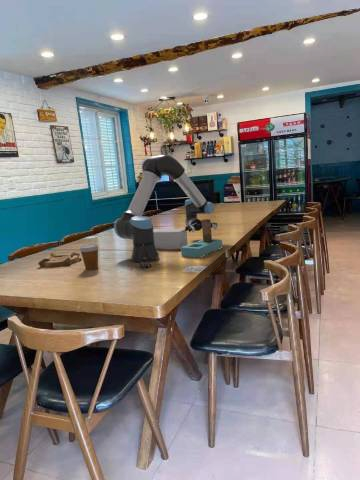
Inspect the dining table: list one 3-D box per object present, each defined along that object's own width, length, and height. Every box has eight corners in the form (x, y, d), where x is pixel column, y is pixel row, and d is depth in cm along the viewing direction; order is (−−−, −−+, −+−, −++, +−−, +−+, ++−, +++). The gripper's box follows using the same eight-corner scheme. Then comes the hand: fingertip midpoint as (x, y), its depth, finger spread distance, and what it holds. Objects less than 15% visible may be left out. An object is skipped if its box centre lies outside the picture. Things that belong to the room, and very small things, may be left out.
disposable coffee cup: (82, 267, 184) (79, 245, 182) (100, 265, 187) (97, 243, 185) (82, 272, 175) (79, 248, 173) (101, 269, 178) (98, 246, 176)
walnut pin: (209, 248, 198) (207, 220, 195) (202, 247, 201) (199, 220, 198) (214, 246, 202) (212, 219, 199) (206, 246, 205) (204, 219, 202)
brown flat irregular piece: (29, 267, 197) (27, 259, 196) (61, 257, 217) (59, 249, 217) (59, 269, 186) (58, 260, 185) (90, 258, 206) (88, 250, 205)
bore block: (199, 257, 184) (198, 248, 183) (181, 256, 191) (180, 247, 190) (222, 248, 203) (221, 239, 202) (205, 246, 210) (204, 238, 209)
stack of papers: (187, 245, 220) (186, 228, 218) (180, 249, 211) (179, 231, 209) (144, 244, 234) (143, 229, 232) (136, 248, 225) (134, 232, 223)
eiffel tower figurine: (162, 264, 179) (160, 239, 177) (159, 269, 169) (156, 243, 167) (134, 266, 181) (131, 241, 178) (129, 271, 171) (126, 245, 168)
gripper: (214, 227, 228) (225, 232, 208) (177, 232, 223) (185, 237, 203) (213, 216, 227) (224, 220, 206) (176, 220, 222) (184, 224, 201)
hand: (205, 228), depth 204 cm, fingers open, 13 cm apart
